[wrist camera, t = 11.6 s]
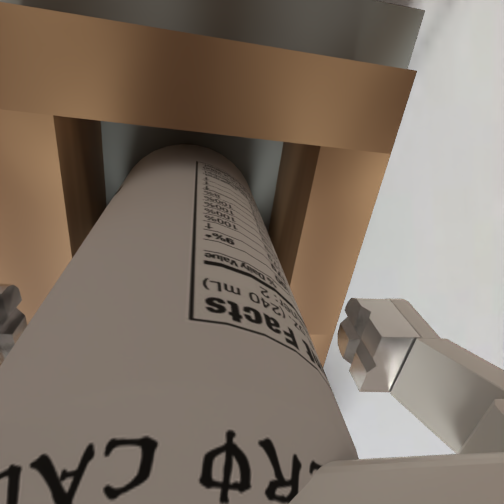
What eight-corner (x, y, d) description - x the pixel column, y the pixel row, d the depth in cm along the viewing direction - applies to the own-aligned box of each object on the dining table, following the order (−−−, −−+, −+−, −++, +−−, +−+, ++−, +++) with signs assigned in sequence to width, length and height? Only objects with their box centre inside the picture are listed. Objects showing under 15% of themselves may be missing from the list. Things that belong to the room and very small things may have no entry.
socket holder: (405, 15, 15) (527, -16, 10) (317, 325, 24) (354, 407, 18) (-51, -75, 12) (-275, -202, 6) (34, 321, 20) (-30, 419, 15)
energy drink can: (102, 158, 15) (-555, 775, 2) (234, 124, 15) (455, 504, 2) (151, 269, 18) (22, 806, 5) (261, 240, 18) (420, 696, 5)
